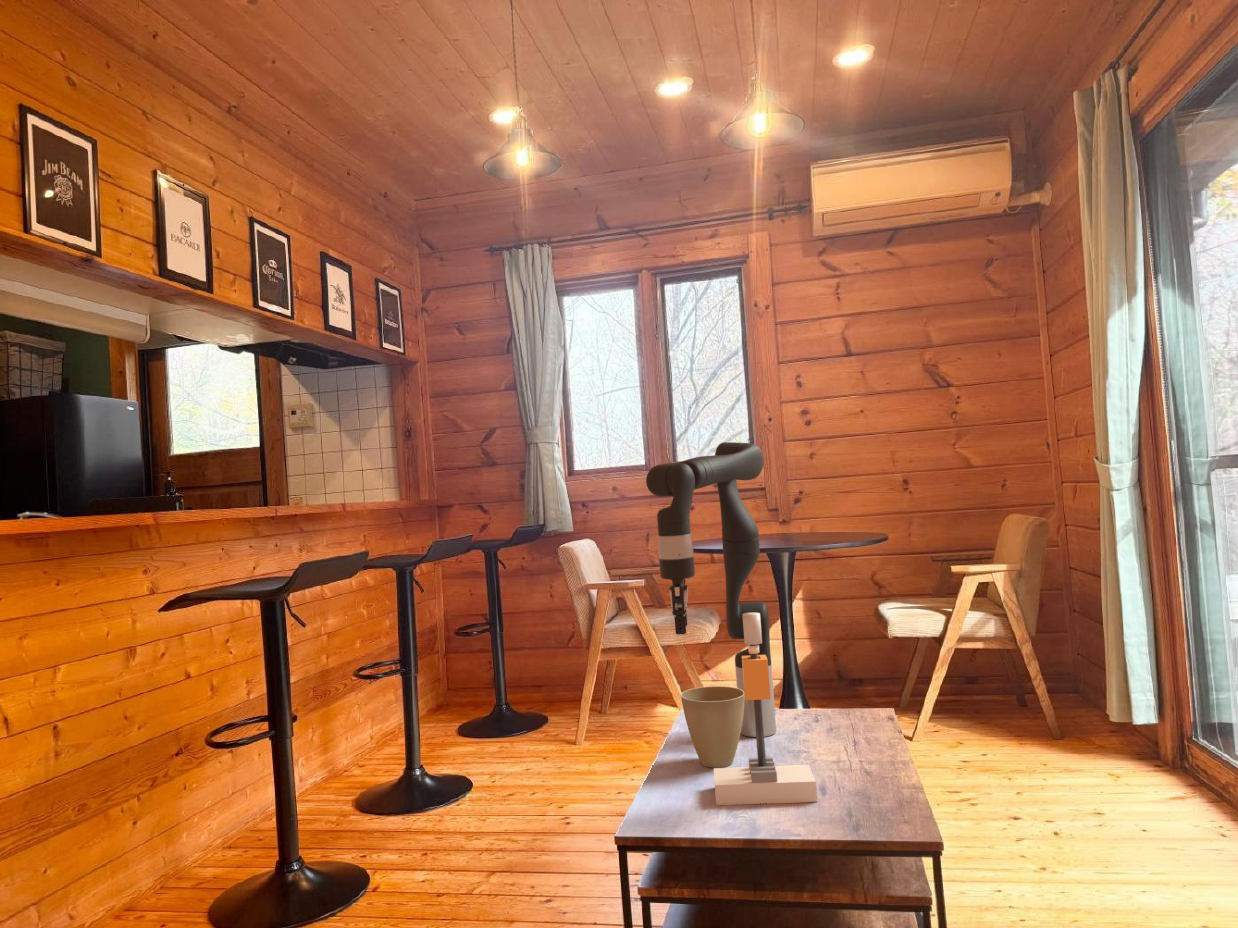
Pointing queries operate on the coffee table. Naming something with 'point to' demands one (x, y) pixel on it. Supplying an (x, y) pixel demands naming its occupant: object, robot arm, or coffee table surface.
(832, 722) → the coffee table surface
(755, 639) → the stand
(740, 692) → the plant pot
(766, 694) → the sleeve
